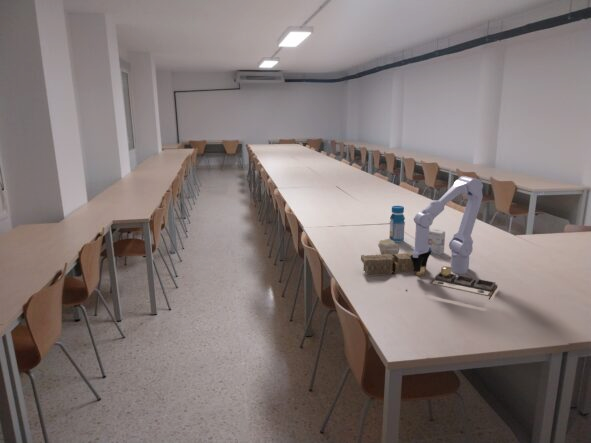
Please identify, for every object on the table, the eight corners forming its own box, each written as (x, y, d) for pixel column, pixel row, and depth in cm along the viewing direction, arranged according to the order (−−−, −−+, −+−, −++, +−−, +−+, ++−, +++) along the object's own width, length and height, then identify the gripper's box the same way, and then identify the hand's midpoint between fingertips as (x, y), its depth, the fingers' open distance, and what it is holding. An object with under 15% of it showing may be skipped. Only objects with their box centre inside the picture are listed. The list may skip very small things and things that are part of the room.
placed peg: (442, 276, 187) (443, 265, 186) (451, 278, 185) (452, 267, 184) (439, 279, 184) (440, 268, 183) (448, 281, 182) (449, 270, 180)
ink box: (424, 251, 224) (425, 230, 222) (429, 249, 228) (430, 228, 225) (440, 255, 219) (441, 232, 216) (444, 252, 222) (445, 230, 219)
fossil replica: (403, 254, 222) (385, 252, 228) (403, 238, 221) (385, 237, 227) (394, 258, 212) (375, 256, 218) (393, 242, 211) (375, 241, 217)
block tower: (419, 269, 203) (359, 270, 200) (420, 252, 201) (360, 253, 198) (426, 274, 196) (364, 276, 193) (427, 257, 194) (365, 258, 191)
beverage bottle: (398, 243, 239) (399, 209, 234) (386, 240, 245) (387, 206, 240) (407, 240, 244) (408, 206, 239) (394, 237, 251) (396, 204, 246)
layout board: (439, 275, 191) (440, 270, 190) (497, 287, 177) (497, 281, 177) (429, 286, 180) (429, 280, 179) (489, 299, 166) (490, 293, 166)
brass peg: (417, 274, 193) (417, 264, 192) (425, 276, 191) (426, 266, 189) (413, 277, 190) (414, 266, 189) (422, 279, 188) (423, 268, 186)
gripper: (418, 234, 194) (417, 262, 197) (406, 242, 183) (405, 271, 186) (434, 236, 190) (432, 265, 193) (422, 244, 179) (420, 275, 182)
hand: (420, 268), depth 189 cm, fingers open, 7 cm apart
